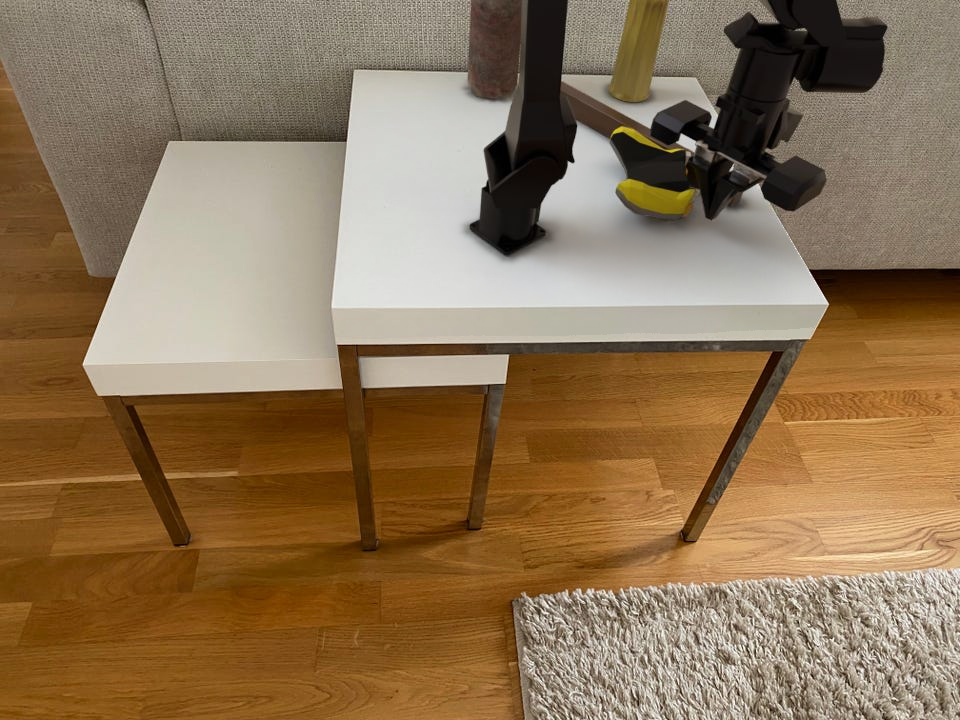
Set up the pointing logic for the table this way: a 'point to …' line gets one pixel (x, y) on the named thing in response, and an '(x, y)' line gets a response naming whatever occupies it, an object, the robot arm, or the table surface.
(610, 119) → the back rail
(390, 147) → the table surface
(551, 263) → the table surface
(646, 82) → the vase
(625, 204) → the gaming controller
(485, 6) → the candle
